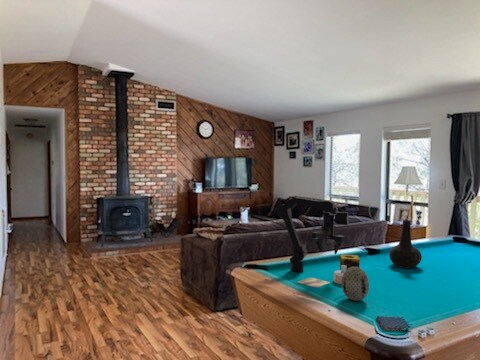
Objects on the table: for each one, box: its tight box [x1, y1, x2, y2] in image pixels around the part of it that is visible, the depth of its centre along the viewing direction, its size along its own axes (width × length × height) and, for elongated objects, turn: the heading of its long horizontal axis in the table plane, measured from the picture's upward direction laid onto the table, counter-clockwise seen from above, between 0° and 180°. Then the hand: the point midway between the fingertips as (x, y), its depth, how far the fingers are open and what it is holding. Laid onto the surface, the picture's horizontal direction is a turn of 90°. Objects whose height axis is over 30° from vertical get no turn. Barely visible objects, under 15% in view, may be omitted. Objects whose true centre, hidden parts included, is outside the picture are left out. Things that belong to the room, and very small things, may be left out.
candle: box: [339, 254, 361, 270], centre depth 208 cm, size 10×10×10 cm
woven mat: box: [375, 315, 412, 331], centre depth 142 cm, size 10×11×2 cm
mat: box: [297, 277, 331, 289], centre depth 191 cm, size 12×12×1 cm
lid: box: [333, 265, 347, 277], centre depth 192 cm, size 9×9×4 cm
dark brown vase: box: [389, 219, 423, 269], centre depth 227 cm, size 18×18×28 cm
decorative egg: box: [341, 266, 370, 302], centre depth 168 cm, size 12×12×15 cm
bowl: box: [333, 273, 342, 285], centre depth 192 cm, size 9×9×4 cm
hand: (327, 252), depth 203 cm, fingers open, 9 cm apart
